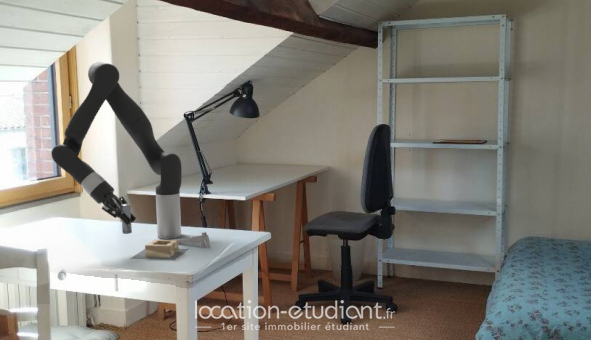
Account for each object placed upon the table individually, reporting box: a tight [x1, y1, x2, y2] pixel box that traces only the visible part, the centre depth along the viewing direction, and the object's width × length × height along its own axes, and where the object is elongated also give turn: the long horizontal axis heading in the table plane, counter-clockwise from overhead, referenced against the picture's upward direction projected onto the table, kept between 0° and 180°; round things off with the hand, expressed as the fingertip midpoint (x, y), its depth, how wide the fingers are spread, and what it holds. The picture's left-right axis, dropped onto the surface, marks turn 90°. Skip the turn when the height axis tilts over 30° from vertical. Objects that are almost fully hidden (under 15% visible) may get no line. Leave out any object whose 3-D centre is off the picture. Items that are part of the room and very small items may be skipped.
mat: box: [129, 248, 189, 261], centre depth 230 cm, size 15×16×1 cm
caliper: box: [175, 231, 211, 249], centre depth 242 cm, size 20×1×6 cm, turn 63°
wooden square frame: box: [144, 239, 180, 258], centre depth 229 cm, size 9×9×4 cm
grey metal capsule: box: [121, 203, 133, 235], centre depth 230 cm, size 3×3×10 cm
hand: (131, 221), depth 229 cm, fingers closed on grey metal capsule, 3 cm apart
